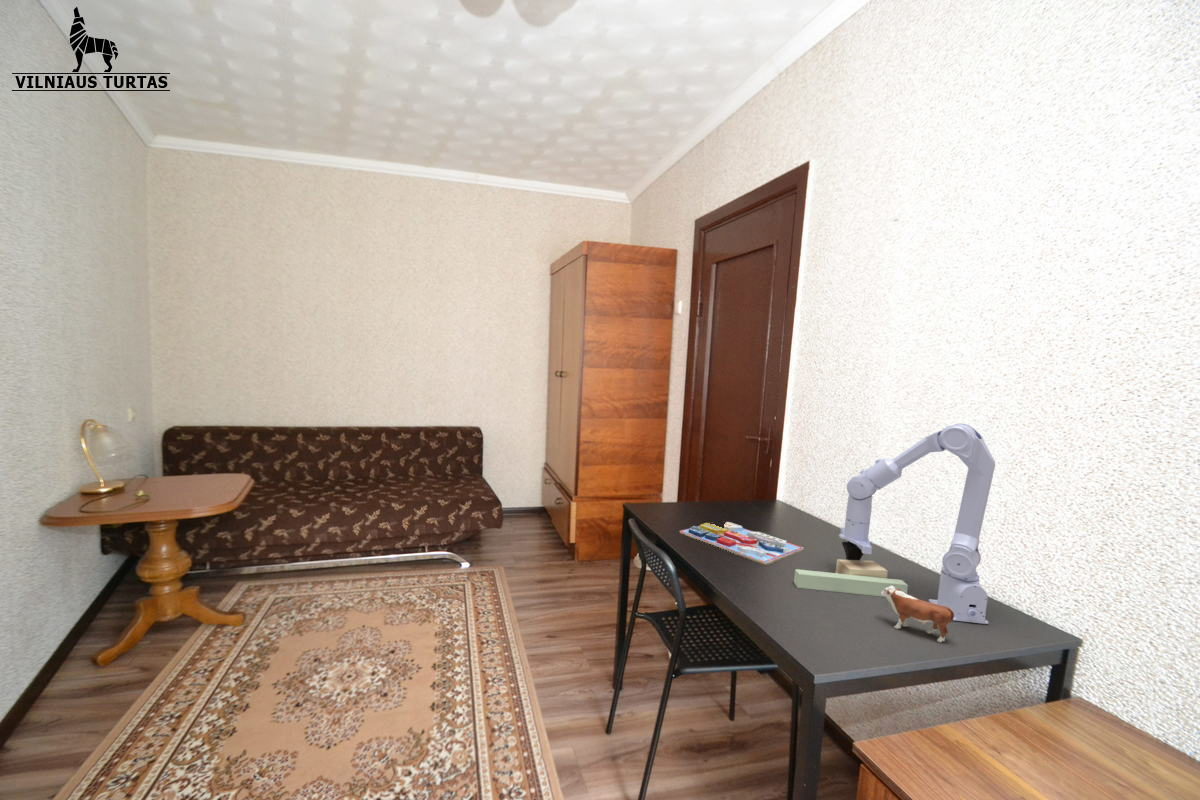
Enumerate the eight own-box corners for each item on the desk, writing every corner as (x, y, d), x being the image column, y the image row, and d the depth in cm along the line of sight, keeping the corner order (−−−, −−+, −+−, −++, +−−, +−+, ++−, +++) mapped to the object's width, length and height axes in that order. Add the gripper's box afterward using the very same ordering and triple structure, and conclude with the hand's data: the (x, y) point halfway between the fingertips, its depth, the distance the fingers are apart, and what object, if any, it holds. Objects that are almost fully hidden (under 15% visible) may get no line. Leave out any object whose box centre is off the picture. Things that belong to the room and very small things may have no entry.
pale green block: (906, 599, 121) (907, 585, 121) (797, 587, 123) (799, 574, 123) (899, 593, 124) (901, 579, 124) (793, 582, 126) (795, 569, 126)
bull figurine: (878, 615, 112) (883, 580, 111) (951, 639, 103) (956, 601, 103) (874, 622, 108) (879, 586, 108) (949, 647, 100) (954, 608, 99)
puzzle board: (804, 551, 151) (805, 543, 151) (765, 568, 136) (766, 559, 135) (719, 523, 174) (720, 515, 173) (678, 534, 158) (679, 526, 158)
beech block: (885, 589, 126) (887, 570, 125) (847, 588, 125) (850, 569, 125) (870, 579, 132) (873, 560, 131) (834, 577, 131) (837, 559, 131)
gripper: (831, 510, 138) (826, 557, 140) (853, 528, 124) (847, 580, 125) (857, 513, 138) (852, 560, 139) (882, 530, 123) (876, 583, 125)
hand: (851, 570), depth 132 cm, fingers closed, pressing on beech block
